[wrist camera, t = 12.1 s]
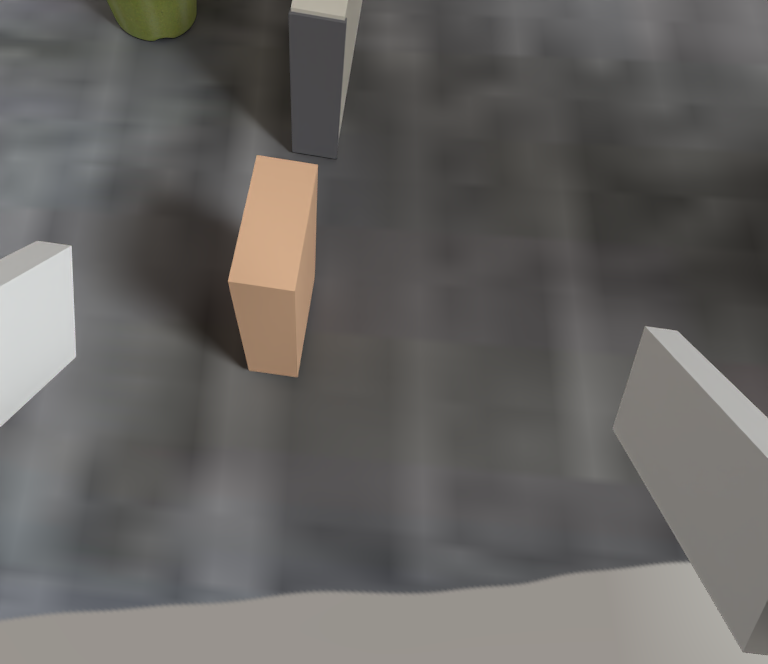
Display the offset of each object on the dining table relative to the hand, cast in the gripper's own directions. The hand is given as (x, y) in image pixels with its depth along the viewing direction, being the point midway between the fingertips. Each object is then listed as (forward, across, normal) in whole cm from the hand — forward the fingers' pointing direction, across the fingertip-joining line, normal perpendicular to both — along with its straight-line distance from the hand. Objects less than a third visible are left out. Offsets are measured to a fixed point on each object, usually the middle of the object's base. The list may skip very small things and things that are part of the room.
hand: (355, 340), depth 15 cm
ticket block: (+41, -5, +4) cm, 41 cm away
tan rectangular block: (+25, -5, -11) cm, 28 cm away
